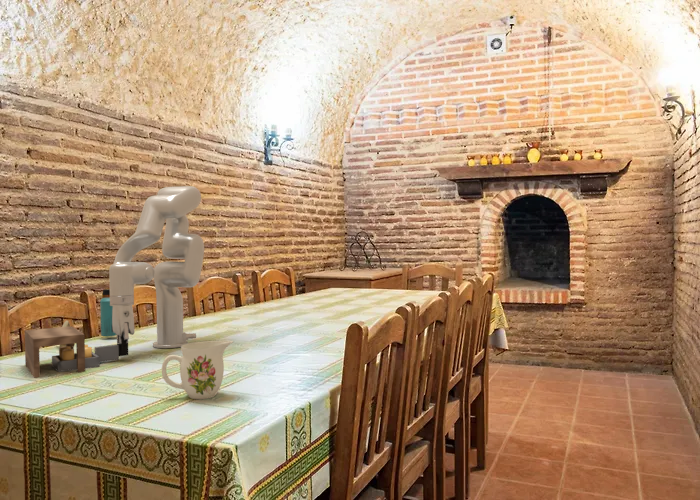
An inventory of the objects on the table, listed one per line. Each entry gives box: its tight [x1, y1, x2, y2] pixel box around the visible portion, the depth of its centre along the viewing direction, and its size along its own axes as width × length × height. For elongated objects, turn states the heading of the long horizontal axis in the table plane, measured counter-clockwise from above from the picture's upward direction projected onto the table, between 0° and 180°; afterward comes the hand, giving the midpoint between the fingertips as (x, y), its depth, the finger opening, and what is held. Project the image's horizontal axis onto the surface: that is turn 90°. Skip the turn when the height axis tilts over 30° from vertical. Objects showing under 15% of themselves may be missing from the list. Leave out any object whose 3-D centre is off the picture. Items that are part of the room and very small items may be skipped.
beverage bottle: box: [99, 288, 117, 337], centre depth 242 cm, size 6×7×20 cm
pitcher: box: [161, 340, 234, 400], centre depth 155 cm, size 11×18×14 cm, turn 105°
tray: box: [51, 344, 120, 373], centre depth 194 cm, size 19×11×6 cm, turn 125°
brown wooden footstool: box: [24, 325, 86, 379], centre depth 189 cm, size 14×20×11 cm
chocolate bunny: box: [58, 320, 76, 349], centre depth 226 cm, size 6×8×10 cm
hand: (122, 355), depth 200 cm, fingers closed
